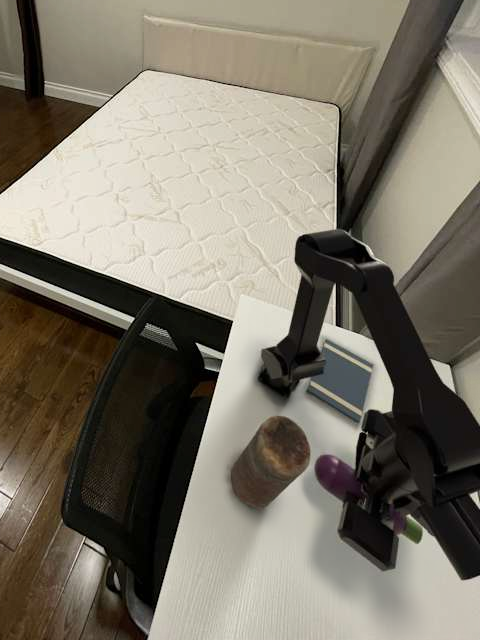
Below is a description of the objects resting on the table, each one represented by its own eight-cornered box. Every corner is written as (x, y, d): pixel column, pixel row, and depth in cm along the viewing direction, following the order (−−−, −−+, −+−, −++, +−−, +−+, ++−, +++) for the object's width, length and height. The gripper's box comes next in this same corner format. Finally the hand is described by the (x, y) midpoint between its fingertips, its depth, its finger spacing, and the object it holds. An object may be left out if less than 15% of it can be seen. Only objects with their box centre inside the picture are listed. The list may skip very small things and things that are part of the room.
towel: (306, 391, 75) (307, 389, 75) (325, 339, 84) (326, 338, 84) (358, 423, 71) (360, 422, 71) (372, 365, 80) (373, 364, 79)
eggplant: (306, 481, 59) (316, 472, 56) (315, 452, 62) (325, 442, 59) (408, 557, 53) (425, 551, 50) (412, 520, 56) (429, 512, 53)
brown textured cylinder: (276, 467, 65) (312, 425, 53) (274, 518, 60) (312, 485, 47) (233, 450, 67) (258, 406, 54) (227, 498, 62) (252, 461, 49)
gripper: (476, 607, 38) (404, 614, 48) (477, 440, 50) (420, 473, 60) (361, 522, 43) (317, 544, 53) (387, 389, 55) (348, 427, 65)
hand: (355, 494), depth 57 cm, fingers closed on eggplant, 5 cm apart
